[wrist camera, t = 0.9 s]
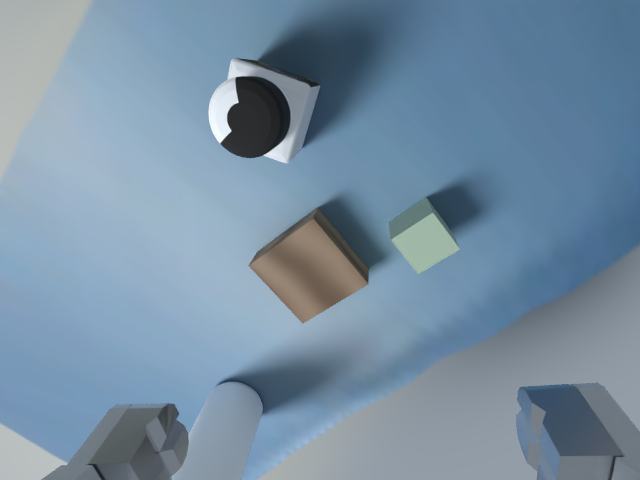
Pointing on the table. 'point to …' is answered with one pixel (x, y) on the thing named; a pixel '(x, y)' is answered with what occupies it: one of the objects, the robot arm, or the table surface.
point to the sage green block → (422, 236)
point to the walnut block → (310, 266)
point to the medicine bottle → (262, 110)
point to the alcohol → (222, 434)
